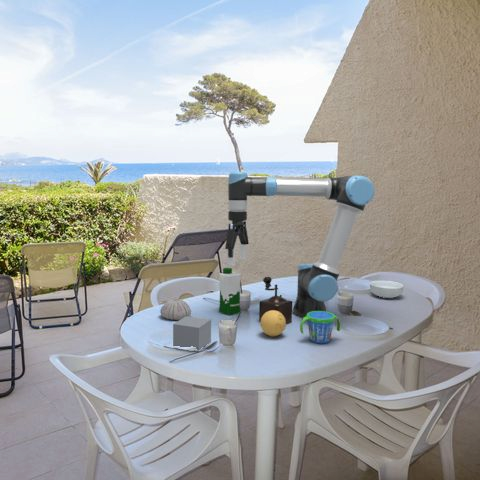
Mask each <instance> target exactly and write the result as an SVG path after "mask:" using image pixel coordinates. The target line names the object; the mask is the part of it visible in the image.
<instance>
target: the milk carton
mask: <svg viewBox="0 0 480 480" xmlns="http://www.w3.org/2000/svg"><path fill="white" fill-rule="evenodd" d="M242 276H243V274H241V273H239V272H237V271H233V268H232V267H223V269H222V272H219V273H218V279H219V307H218V309H219V311H218V313H222V314H224V315H227V316H232V315H236V314H241V280H242Z"/></svg>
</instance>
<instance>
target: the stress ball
mask: <svg viewBox="0 0 480 480" xmlns="http://www.w3.org/2000/svg"><path fill="white" fill-rule="evenodd" d="M285 320H286V319H285V317H284V316H283V315H282V314H281V312H279V311H275V310H271V311H268V312H266V313H265V314H264V315H263V316H262V318H261V322H259V323H260V328H261V330H262V332H264V334H265V335H267V336H269V337H272V338H274V337H277V336H279V335H281V334H282V333H283V332H284V331H285V329H286V327H287V324H286V321H285Z"/></svg>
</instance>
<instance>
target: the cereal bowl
mask: <svg viewBox="0 0 480 480" xmlns="http://www.w3.org/2000/svg"><path fill="white" fill-rule="evenodd" d="M369 290H370V291H371V293H372V294H374V295H375V296H379V297H378V298H380V297H384V298H383V299H385V298H392V299H394V298H396V297H399V296H401V294H402V293H403V292H404V285H403V284H402V283H400V282H396V281H393V280H392V281H391V280H373V281H370V283H369ZM393 297H394V298H393Z"/></svg>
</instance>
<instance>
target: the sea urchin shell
mask: <svg viewBox="0 0 480 480" xmlns="http://www.w3.org/2000/svg"><path fill="white" fill-rule="evenodd" d="M159 311H160V315H161V316H162V317H163V318H165V319H166V320H172V321H173V320H175V321H179V320H181V319H182V318H184V317H186V316H189V317H191V314H192V309H191V307H190V306H189V304H188V303H187V302H186V301H184V300H183V299H180V298H173V299H169V300H167V301H166V302H164V304H163V305H162V306H161V308H160V310H159Z"/></svg>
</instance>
